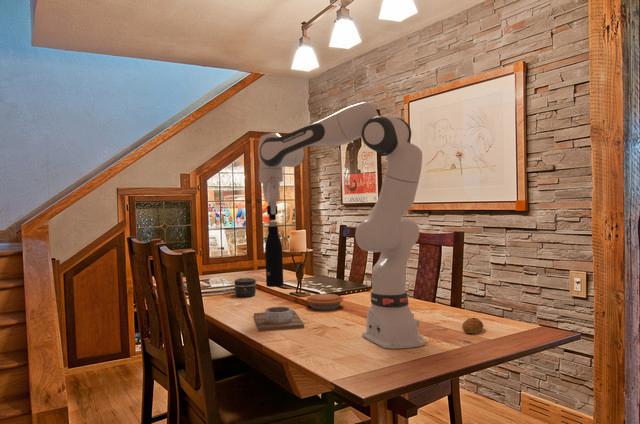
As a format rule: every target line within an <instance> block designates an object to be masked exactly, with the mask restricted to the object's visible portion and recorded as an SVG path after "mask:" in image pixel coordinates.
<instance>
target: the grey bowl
mask: <svg viewBox="0 0 640 424" xmlns="http://www.w3.org/2000/svg"><path fill="white" fill-rule="evenodd" d="M292 310H293V309H292V307H290V306H289V307H288V306H272V307H268V308H265V310H264V312H265V321H266V322H267V323H271V324H284V323H288V322H291V321H292Z"/></svg>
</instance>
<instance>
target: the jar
mask: <svg viewBox="0 0 640 424" xmlns="http://www.w3.org/2000/svg"><path fill="white" fill-rule="evenodd" d="M256 284H257V283H256V279H255V278H251V277H249V278H248V277H246V278H245V277H244V278H238V279H234V294H235V296H236V297H237V298H252V297H254V296H255V295H256V289H257V288H256V287H257V286H256Z"/></svg>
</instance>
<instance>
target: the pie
mask: <svg viewBox="0 0 640 424" xmlns="http://www.w3.org/2000/svg"><path fill="white" fill-rule="evenodd" d="M343 300H344V297H342V296H339V295H338V294H335V293H316V294H312V295H310V296H308V297H306V302H307V304H308V305H309V306H310V307H311V309H313V310H315V311H316V310H317V311H332V310H336V309H339V306H340V304H341V303H342V302H343Z"/></svg>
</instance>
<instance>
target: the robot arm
mask: <svg viewBox="0 0 640 424" xmlns="http://www.w3.org/2000/svg"><path fill="white" fill-rule="evenodd" d="M376 109H377V108H375V107H374V105H373V104H371V103H370V102H366V101H362V102H359V103H356V104H353V105H350V106H347V107H345V108H342V109H340V110H339V111H337V112H334V113H333V114H331V115H329V116H327V117H325V118H323V119H320V120H317V121H315V122H313V123H312V124H309V125H307V126H304V127H301V128H299V129H297V130H294V131H292V132H290V133H288V134H285V135H282V136H281V134H279V133H277V132H270V133H265V134H263V135H261V136H260V138H259V140H258V150H257V151H258V154H257V155H258V161H259V166H258V177H259V179H258V180H259V183H261V184H262V191H263V198H264V203H267V206H271V214H276V206H277V203H278V202H280V200H281V198H280V197H281V196H280V186H281V184H280V183H283V181H284V172H283V170H284V169H283V168H286V167H287V168H293V167H294V168H295V167H298V166H300V165H301V164H302V163H303V161H304V158H305V148H307V147H313V146H326V147H339V146H343V145H347V144H349V143H352V142H354V141H356V140H358V139H360V138H361V139H362V141H363V143H364V144H365V146H367V148H369V149H370V150H373V151H374V152H376V153H377V154H379V155H380V156H381V157H386V158H387V160H386V161H387V164H386V170H385V172H384V176H383V180H382V181H383V182H382V184H381V189H380V192H379V195H378V198H377V201H376V203H375V204H374V206H373V208H372V209H371V211H370V212H369V214H368V215H367V216H366V217H365V219H364V220H363V221H361V222H360V223H359V224H358V225H357V226H356V229H355V242H356V244H357V246H358V247H359V249H360V250H362V251H364V252H365V251H366V252H370V253H371V252H372V253H380V255H379V258H378V260H377V262H376V263H375V264H374V265H373V266H372V269H371V292H370V302H371V305H370V306H369V308H368V309H367V311H366V324H365V325H366V327H365V328H366V329H365V331H363V332H362V337H363V338H365V339H367V340H369V341H370V342H373V343H374V344H376V345H377V346H379V347H381V348H383V349H391V350H392V349H395V350H396V349H398V350H399V349H410V348H417V347H423V346H425V345H426V340H425V339H424V338H423V336H422V335H421V334H420V333H419V331H418V327H420V324H421V323H420V320H419V319H418V318H417V319H415V313H413V312H412V310H411V309H410V306H409V296H408V293H407V290H406V289H407V287H406V286H407V285H406V284H407V283H406V278H407V273H406V272H407V267H408V261H409V257H410V255H411V251H412V249H413V247H414V246H415V244H416V243H417V242H418V240H419V238H420V228H419V225H418V223H417V222H416V221H415V220H413V219H411V218H408V217H404V215H405V213H406V212H407V211H408V210H410V208H412V206H413V205H414V202H415V197H416V194H417V190H418V186H419V184H420V183H419V182H420V178H421V172H422V167H423V151H422V150H421V148H420V147H418V146H417V145H416V144H414V143H410V141H411V138H412V129H411V126H410V125H409V123H408V122H406V121H405V120H404V119H403V118H399V117H394V116H391V115H383V116H382V115H379V113H378V111H377V110H376ZM276 215H277V214H276Z"/></svg>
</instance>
